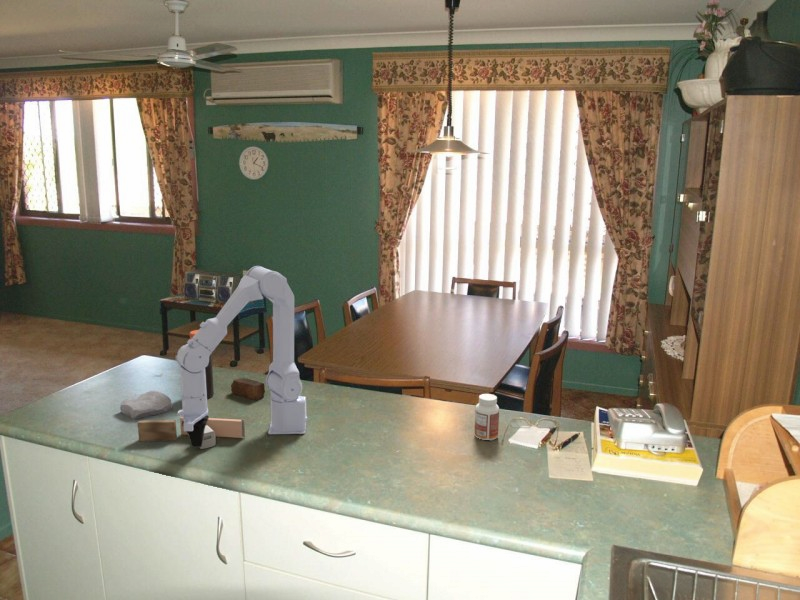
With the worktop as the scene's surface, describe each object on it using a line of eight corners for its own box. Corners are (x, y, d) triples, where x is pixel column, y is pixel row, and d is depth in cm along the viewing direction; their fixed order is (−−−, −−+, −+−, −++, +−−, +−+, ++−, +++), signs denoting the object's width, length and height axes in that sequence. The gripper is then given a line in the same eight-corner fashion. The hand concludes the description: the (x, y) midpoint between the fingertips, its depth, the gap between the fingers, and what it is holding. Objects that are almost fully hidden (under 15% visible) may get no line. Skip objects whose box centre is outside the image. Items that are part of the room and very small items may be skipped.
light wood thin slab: (245, 436, 160) (244, 418, 159) (244, 437, 159) (243, 420, 158) (182, 432, 161) (181, 415, 160) (181, 434, 160) (180, 416, 159)
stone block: (176, 414, 178) (156, 399, 183) (176, 400, 176) (157, 385, 182) (137, 429, 169) (118, 413, 174) (137, 414, 167) (118, 398, 173)
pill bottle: (495, 431, 167) (497, 392, 164) (499, 441, 161) (502, 401, 158) (472, 431, 166) (474, 392, 164) (476, 441, 160) (478, 401, 158)
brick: (265, 397, 187) (265, 382, 186) (255, 401, 184) (255, 386, 183) (240, 390, 193) (240, 375, 192) (231, 393, 190) (230, 379, 189)
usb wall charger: (199, 449, 153) (199, 434, 152) (190, 439, 158) (189, 424, 157) (215, 445, 155) (214, 430, 154) (205, 435, 161) (204, 421, 160)
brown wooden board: (176, 438, 159) (175, 420, 158) (175, 440, 158) (174, 422, 157) (140, 438, 158) (139, 420, 157) (139, 441, 157) (137, 422, 156)
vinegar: (209, 400, 184) (206, 335, 179) (186, 399, 184) (182, 334, 179) (216, 391, 190) (213, 329, 186) (194, 391, 190) (191, 328, 186)
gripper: (184, 383, 155) (187, 433, 158) (168, 405, 141) (172, 460, 144) (213, 383, 156) (215, 433, 159) (200, 405, 142) (203, 460, 145)
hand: (197, 446), depth 152 cm, fingers closed
